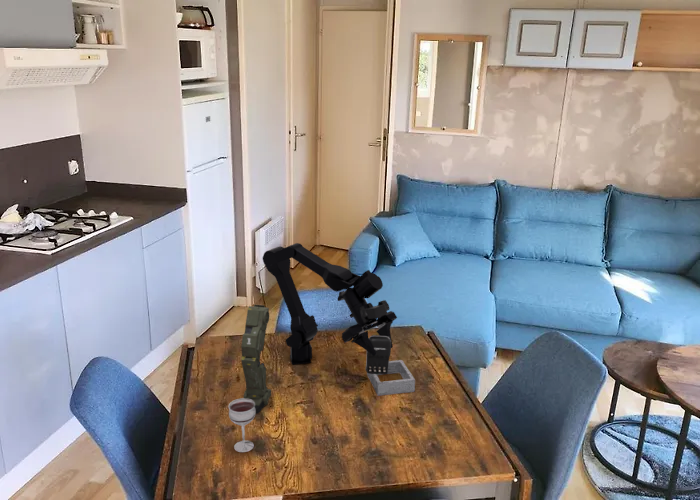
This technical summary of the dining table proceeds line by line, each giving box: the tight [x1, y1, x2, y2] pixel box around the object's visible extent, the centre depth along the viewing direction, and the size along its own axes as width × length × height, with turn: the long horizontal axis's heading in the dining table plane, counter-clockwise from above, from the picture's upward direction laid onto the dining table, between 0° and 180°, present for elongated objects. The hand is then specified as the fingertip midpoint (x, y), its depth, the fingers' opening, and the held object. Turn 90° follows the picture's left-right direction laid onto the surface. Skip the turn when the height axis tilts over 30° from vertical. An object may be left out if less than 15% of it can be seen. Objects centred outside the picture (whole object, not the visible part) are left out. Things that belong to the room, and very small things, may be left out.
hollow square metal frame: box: [366, 359, 416, 396], centre depth 183 cm, size 12×13×4 cm
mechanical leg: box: [240, 304, 272, 415], centre depth 169 cm, size 14×7×30 cm, turn 168°
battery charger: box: [365, 334, 392, 375], centre depth 175 cm, size 7×4×11 cm, turn 93°
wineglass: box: [228, 397, 257, 453], centre depth 150 cm, size 7×7×12 cm
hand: (383, 351), depth 174 cm, fingers closed on battery charger, 7 cm apart
